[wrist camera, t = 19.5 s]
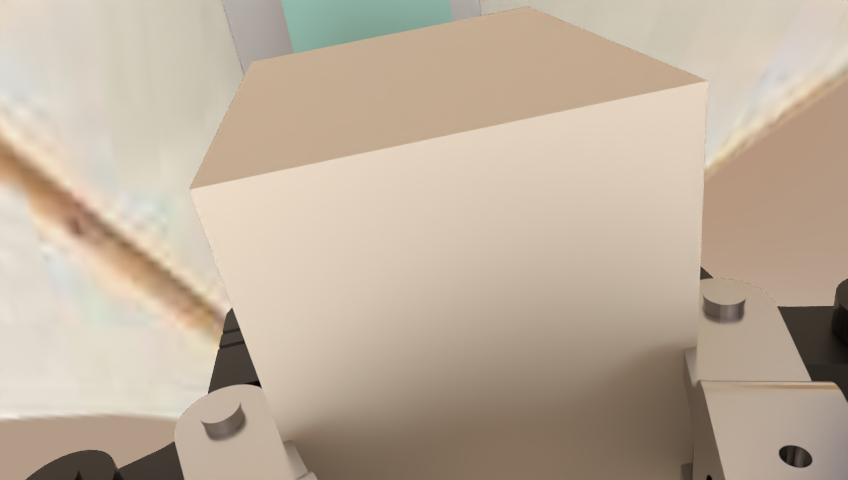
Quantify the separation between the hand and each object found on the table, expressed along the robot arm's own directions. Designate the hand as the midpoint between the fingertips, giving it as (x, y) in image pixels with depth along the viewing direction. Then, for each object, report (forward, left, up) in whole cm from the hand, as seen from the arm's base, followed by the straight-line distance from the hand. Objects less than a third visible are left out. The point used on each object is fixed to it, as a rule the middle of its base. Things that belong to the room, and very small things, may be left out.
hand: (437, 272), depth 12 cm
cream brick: (0, 0, -1) cm, 1 cm away
